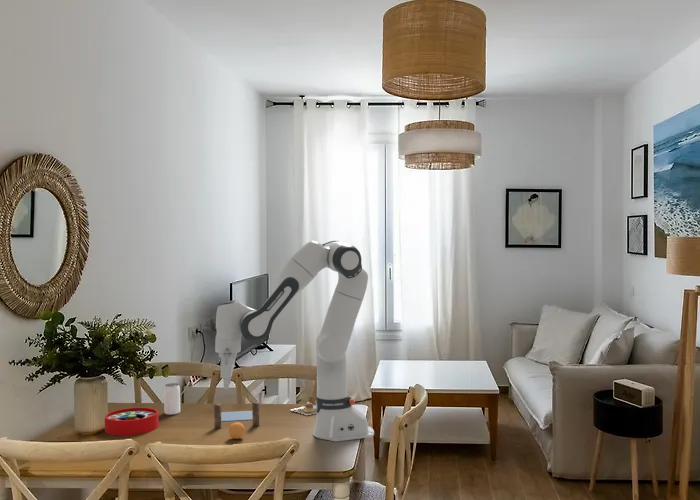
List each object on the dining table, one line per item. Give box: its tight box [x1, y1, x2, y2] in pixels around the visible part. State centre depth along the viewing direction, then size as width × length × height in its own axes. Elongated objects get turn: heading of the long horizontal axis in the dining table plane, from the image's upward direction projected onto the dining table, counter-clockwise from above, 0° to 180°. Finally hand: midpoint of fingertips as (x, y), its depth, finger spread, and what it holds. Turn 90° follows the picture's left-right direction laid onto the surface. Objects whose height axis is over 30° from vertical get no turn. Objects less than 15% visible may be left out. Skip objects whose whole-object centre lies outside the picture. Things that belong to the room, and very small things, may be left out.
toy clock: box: [104, 407, 160, 437], centre depth 266 cm, size 20×6×20 cm
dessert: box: [289, 401, 317, 417], centre depth 288 cm, size 12×12×5 cm
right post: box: [251, 401, 260, 428], centre depth 266 cm, size 3×3×9 cm
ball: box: [227, 421, 246, 440], centre depth 249 cm, size 6×6×6 cm
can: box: [163, 382, 181, 416], centre depth 287 cm, size 6×6×12 cm
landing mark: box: [221, 410, 253, 423], centre depth 281 cm, size 14×14×1 cm
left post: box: [213, 403, 222, 430], centre depth 264 cm, size 3×3×9 cm
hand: (227, 386), depth 239 cm, fingers open, 8 cm apart
